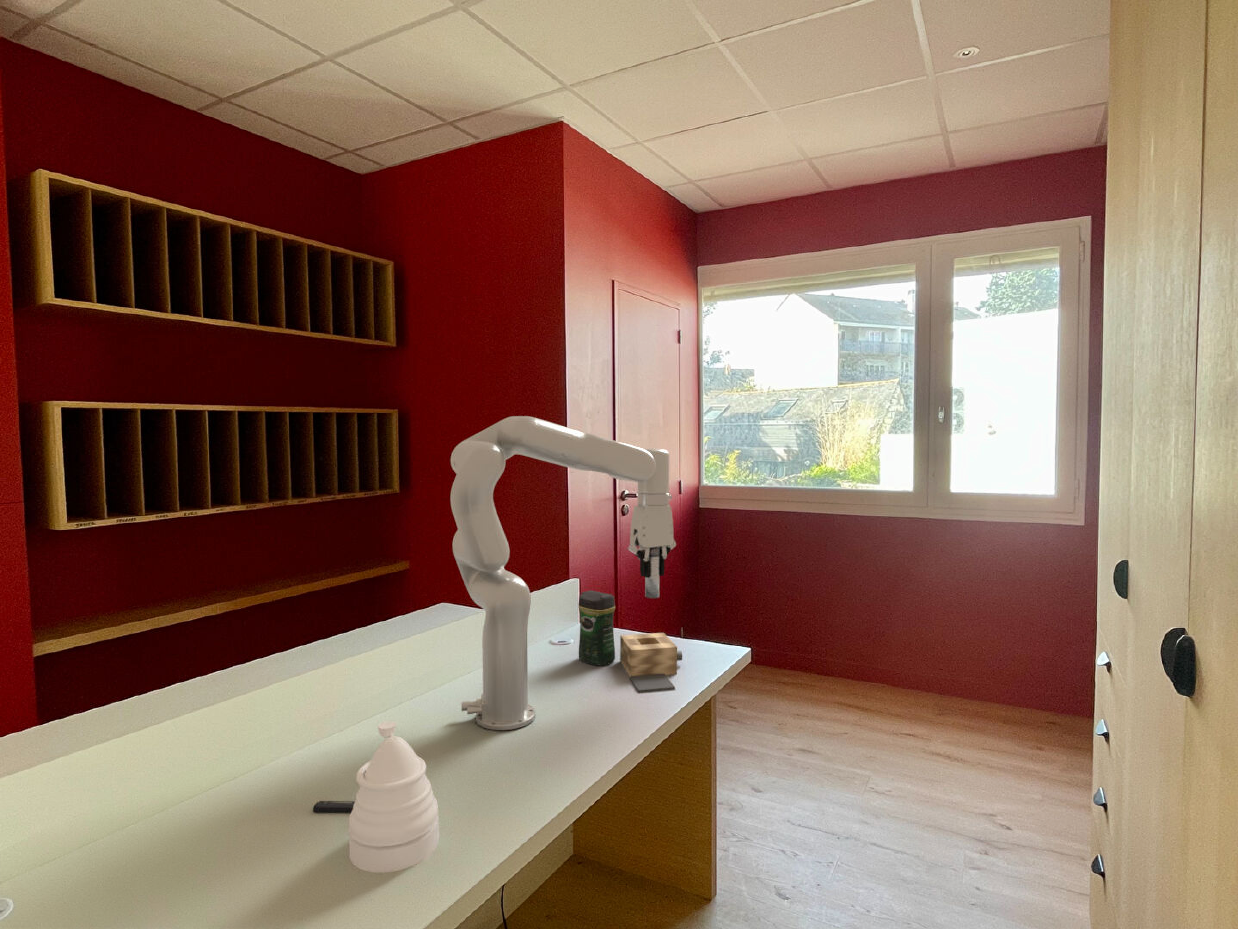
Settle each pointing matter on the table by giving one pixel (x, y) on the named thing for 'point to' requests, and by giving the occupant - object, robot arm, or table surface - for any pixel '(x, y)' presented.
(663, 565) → the robot arm
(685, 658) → the table surface
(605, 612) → the coffee jar
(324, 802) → the usb stick
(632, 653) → the block
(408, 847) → the honey pot
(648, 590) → the metal cylinder
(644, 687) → the mat
